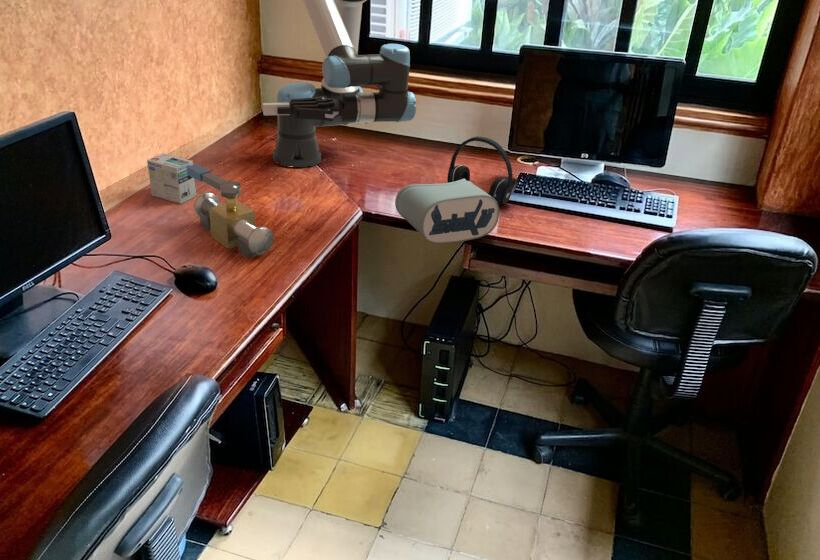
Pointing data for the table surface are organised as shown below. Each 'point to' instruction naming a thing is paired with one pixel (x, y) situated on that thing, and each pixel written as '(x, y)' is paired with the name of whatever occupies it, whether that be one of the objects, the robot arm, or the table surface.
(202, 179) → the lever
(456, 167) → the headphones
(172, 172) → the light bulb box
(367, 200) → the table surface
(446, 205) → the grey rounded block
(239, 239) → the valve body
